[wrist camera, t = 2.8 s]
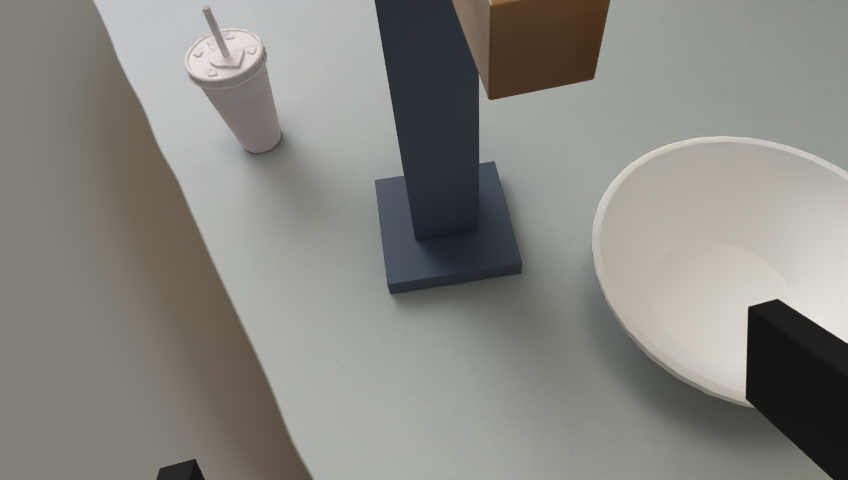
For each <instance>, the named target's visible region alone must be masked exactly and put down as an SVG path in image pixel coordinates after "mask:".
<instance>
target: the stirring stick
mask: <svg viewBox="0 0 848 480" xmlns="http://www.w3.org/2000/svg"><path fill="white" fill-rule="evenodd" d="M452 2H453V5H454V8H455V10H456V13H457V16H458V18H459V21H460V24H461V26H462V29H463V32H464V34H465V37H466V40H467V42H468V45H469V48H470V51H471V53H472V56H473V59H474V61H475V64H476V67H477V69H478V72H479V75H480V77H481V80H482V83H483V85H484V88H485V91H486V93H487V96H488V99H489V100H494V99H499V98H504V97H509V96H514V95H519V94H524V93H529V92H534V91H539V90H544V89H549V88H554V87H559V86H564V85H569V84H574V83H579V82H584V81H589V80H593V79H594V76H595V71H596V67H597V62H598V57H599V52H600V47H601V42H602V37H603V33H604V28H605V23H606V18H607V13H608V8H609V4H610V0H452Z"/></svg>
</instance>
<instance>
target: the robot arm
mask: <svg viewBox="0 0 848 480" xmlns="http://www.w3.org/2000/svg"><path fill="white" fill-rule="evenodd" d="M745 399H746V400H747V401H748V402H749V403H750V404H752V405H753V406H754V407H755V408H756V409H757V410H758V411H759V412H760V413H761V414H762V415H764V416H765V417H766V418H767V419H768V420H769V421H770V422H771V423H772V424H773V425H774V426H775V427H777V428H778V429H779V430H780V431H781V432H782V433H783V434H784V435H785V436H786V437H787V438H789V439H790V440H791V441H792V442H793V443H794V444H795V445H796V446H797V447H798V448H799V449H801V450H802V451H803V452H804V453H805V454H806V455H807V456H808V457H809V458H810V459H811V460H812V461H814V462H815V463H816V464H817V465H818V466H819V467H820V468H821V469H822V470H823V471H824V472H826V473H827V474H828V475H829V476H830V477H831V478H832V479H833V480H848V343H846V342H845V341H843V340H841V339H840V338H838V337H837V336H835V335H834V334H832V333H831V332H829V331H827V330H826V329H824V328H823V327H821V326H820V325H818V324H816V323H815V322H813V321H812V320H810V319H809V318H807V317H806V316H804V315H802V314H801V313H799V312H798V311H796V310H795V309H793V308H791V307H790V306H788V305H787V304H785V303H784V302H782V301H780V300H779V299H775V300H771V301H767V302H764V303H760V304H756V305H753V306H749V307H748V324H747V360H746V397H745ZM157 480H205V479H204V477H203V475H202V473H201V470H200V468H199V466H198V464H197V462H196V459H193V460H190V461H186V462H182V463H178V464H175V465H171V466H167V467H164V468H160V470H159V473H158V477H157Z"/></svg>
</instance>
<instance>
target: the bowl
mask: <svg viewBox="0 0 848 480" xmlns="http://www.w3.org/2000/svg"><path fill="white" fill-rule="evenodd" d="M592 255H593V260H594V266H595V271H596V277H597V280H598V283H599V285H600V287H601V290H602V292H603V295H604V297H605V299H606V302H607V304H608V306H609V308H610V310H611V311H612V313H613V314H614V316H615V317H616V319H617V320H618V322H619V323H620V325H621V326H622V328H623V329H624V331H625V332H626V334H627V335H628V336H629V337H630V338H631V339H632V340H633V341H634V342H635V343H636V344H637V345H638V346H639V348H640V349H641V350H642V351H643V352H644V353H645V354H646V355H647V356H648V357H649V358H650V359H652V360H653V361H654V362H656V363H657V364H658V365H660V366H661V367H662V368H664V369H665V370H667V371H668V372H669V373H671V374H672V375H673V376H675V377H676V378H678V379H680V380H681V381H683V382H685V383H687V384H689V385H691V386H693V387H695V388H697V389H699V390H701V391H702V392H704V393H706V394H708V395H711V396H714V397H717V398H720V399H723V400H726V401H729V402H732V403H735V404H738V405H741V406H746V407H752V408H755V407H754V406H753V405H752V404H750V403H749V402H748V401H747V400H746V399H745V397H746V360H747V324H748V307H749V306H753V305H756V304H760V303H764V302H767V301H771V300H775V299H779V300H780V301H782V302H784V303H785V304H787V305H788V306H790V307H791V308H793V309H795V310H796V311H798V312H799V313H801V314H802V315H804V316H806V317H807V318H809V319H810V320H812V321H813V322H815V323H816V324H818V325H820V326H821V327H823V328H824V329H826V330H827V331H829V332H831V333H832V334H834V335H835V336H837V337H838V338H840V339H841V340H843V341H845V342H846V343H848V173H847V172H846V171H844V170H843V169H841V168H839V167H837V166H835V165H833V164H831V163H829V162H827V161H825V160H823V159H821V158H819V157H817V156H815V155H812V154H809V153H806V152H804V151H801V150H798V149H795V148H792V147H789V146H787V145H783V144H778V143H774V142H769V141H764V140H760V139H754V138H743V137H731V136H719V137H700V138H694V139H689V140H684V141H680V142H675V143H671V144H669V145H666V146H664V147H661V148H658V149H656V150H653V151H651V152H649V153H647V154H645V155H644V156H642V157H641V158H639V159H637V160H636V161H634V162H633V163H631V164H629V165H628V166H627V167H626V168H625V169H624V170H623V171H622V172H621V173H620V174H619V175H618V176H617V177H616V178H615V179H614V180H613V181H612V182H611V184H610V186H609V187H608V189H607V190H606V192H605V194H604V195H603V197H602V198H601V200H600V203H599V206H598V209H597V212H596V215H595V218H594V221H593V232H592Z"/></svg>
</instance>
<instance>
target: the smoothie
mask: <svg viewBox="0 0 848 480" xmlns="http://www.w3.org/2000/svg"><path fill="white" fill-rule="evenodd" d="M202 10H203V13H204V15H205V17H206V19H207V22H208V24H209V26H210V28H211V30H212V33H210V34H208V35H206V36H204V37H202V38H201V39H199V40H198V41H197V42H195V43H194V44H193V45H192V46H191V47H190V49H189V50H188V52H187V54H186V56H185V60H184V65H185V68H186V70H187V72H188V76H189V78H190V79H191V81H192V82H193V83H194V84H196V85H197V86H199V87H201V88H202V90H203V91H204V93H205V94H206V96H207V97H208V98H209V100H210V101H211V103H212V104H213V105H214V107H215V108H216V110H217V111H218V112H219V114H220V115H221V117H222V118H223V119H224V121H225V122H226V124H227V125H228V126H229V128H230V129H231V131H232V132H233V134H234V135H235V136H236V138H237V139H238V141H239V142H240V143H241V145H242V146H243V148H244V149H245V150H247V151H249V152H252V153H262V152H266V151H268V150H270V149H272V148H274V147H275V146H276V145H277V144H278V142H279V141H280V138H281V131H280V127H279V122H278V118H277V113H276V109H275V104H274V100H273V95H272V91H271V87H270V82H269V78H268V72H267V68H266V64H265V63H266V60H267V52H266V49H265V47H264V45H263V43H262V40H261V39H260V37H259V36H258V35H256V34H255V33H253V32H251V31H249V30H245V29H240V28H230V29H223V30H219V28H218V25H217V23H216V21H215V19H214V16H213V14H212V12H211V9H210V7H209V6H203V7H202Z"/></svg>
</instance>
